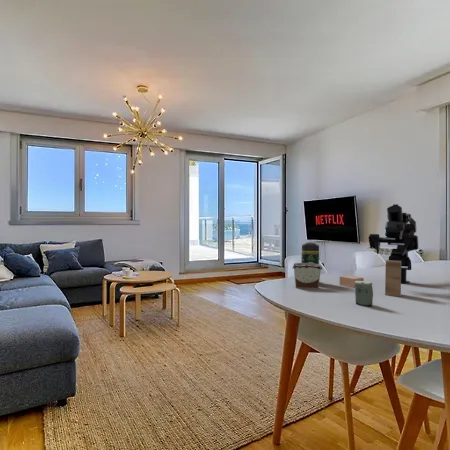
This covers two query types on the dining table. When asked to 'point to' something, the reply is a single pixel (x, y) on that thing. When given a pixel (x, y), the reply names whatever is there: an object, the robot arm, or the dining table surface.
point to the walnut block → (393, 278)
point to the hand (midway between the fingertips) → (389, 253)
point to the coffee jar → (310, 253)
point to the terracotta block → (349, 280)
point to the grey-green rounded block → (363, 293)
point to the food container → (307, 275)
